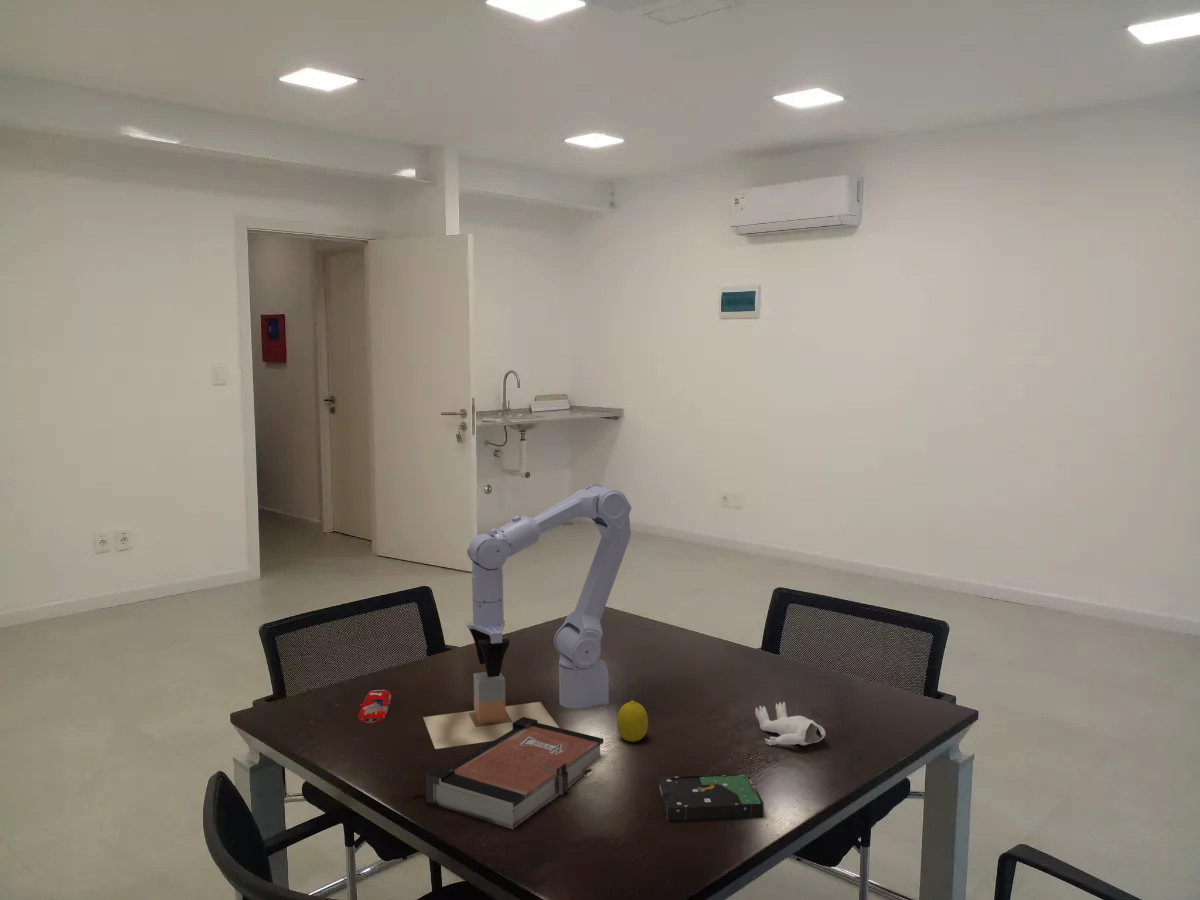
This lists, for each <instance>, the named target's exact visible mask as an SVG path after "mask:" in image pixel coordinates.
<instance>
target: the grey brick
mask: <svg viewBox="0 0 1200 900" xmlns="http://www.w3.org/2000/svg"><path fill="white" fill-rule="evenodd" d="M474 695H475V697H476V698H477V700H478V702H479V703H484V702H491V701H499V700H505V701H506V698H507V697H506V678H505V677H504V675H503V674H502V672H500V675H499V676H496V677H488V675H487V671H483V672H476V673H475V672H473V696H474Z"/></svg>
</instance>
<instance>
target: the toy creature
mask: <svg viewBox="0 0 1200 900" xmlns="http://www.w3.org/2000/svg"><path fill="white" fill-rule="evenodd" d="M774 709H775V711H776V719H774V720H770V717H769V714H768V710H767V708H766V706H764V705H763V706H761V705H759V708H757V707H755V710H754V711H755V712H754V714H755V717H756V718H757V720H758V722H759V728H760V729H761V730H762V731H763V732H770V733H777V734H778V735H779V736H769V739H768V738H764V741H765V744H767V745H769V746H775V745H789V746H790V745H798V744H799V745H800V746H807V745H810V744H811V745H812V744H815V743H818V742H820V741H822V740H823V739H824V738H825V737H826V735H827V734H826V730H825V728H824V727H822V725H821V724H820V725H819V724H818V723H816V722H815V721H814V720H813V719H809V718H807V717H805V716H803V715H792V716H788V713H787V705H786V702H785V701H783V702H782V703H781V702H780V701H779V702H778V703H777V702H776V703H775V708H774Z"/></svg>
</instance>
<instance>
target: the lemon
mask: <svg viewBox="0 0 1200 900" xmlns="http://www.w3.org/2000/svg"><path fill="white" fill-rule="evenodd" d="M648 718H649V717H648V714H647V711H646V709H645V707H644V706H643V705H642V704H640V703H639V702H636V701H635V700H633V699H632V700H630V701H629V702H626V703H625V704H624V705H622V706H621V707H620V709H619V711H618V713H617V719H616V727H617V731H618V734H619V735H620V737H621V738H622V739H623V740H625V741H627V742H629V743H635V742H639V741H640V740H642V739H643V738H644V737H645V735H646V734H647V732H648V726H649V719H648Z"/></svg>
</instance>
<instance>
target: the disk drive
mask: <svg viewBox="0 0 1200 900" xmlns="http://www.w3.org/2000/svg"><path fill="white" fill-rule="evenodd" d="M658 792H659V796H660V800H661V804H662V808H663V811H664V814H665V819H666V821H667V822H675V821H676V822H685V821H703V820H704V821H705V820H706V821H707V820H731V819H733V820H734V819H761V818H764V817H765V816H764V813H765V812H764V811H765V809H764V801H763V799H762V796H761V795H760V793H759V790H758V789H757V787H756V786H755V785H754V782H753V781H752V778H751V776H750V775H749V774H748V775H745V774H736V773H734V774H733V773H732V774H708V775H705V774H704V775H702V774H701V775H676V776H673V775H672V776H659V777H658Z"/></svg>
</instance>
